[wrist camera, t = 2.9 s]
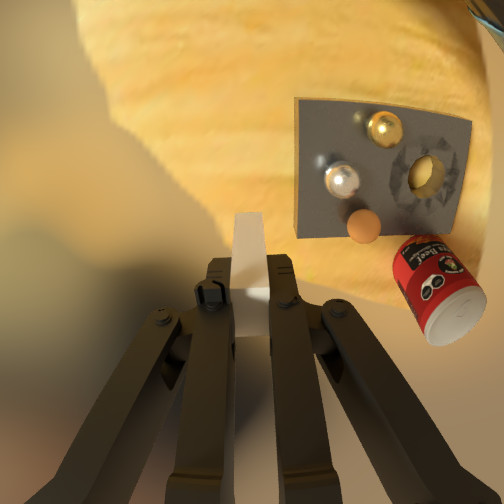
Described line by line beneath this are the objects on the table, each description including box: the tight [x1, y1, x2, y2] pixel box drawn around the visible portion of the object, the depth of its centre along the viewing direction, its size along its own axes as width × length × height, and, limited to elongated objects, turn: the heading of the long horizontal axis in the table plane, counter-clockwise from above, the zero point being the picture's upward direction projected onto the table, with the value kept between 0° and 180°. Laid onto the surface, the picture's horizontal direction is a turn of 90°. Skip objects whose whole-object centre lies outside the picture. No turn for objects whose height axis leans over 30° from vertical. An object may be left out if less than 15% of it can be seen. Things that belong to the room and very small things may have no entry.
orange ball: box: [347, 209, 381, 244], centre depth 26 cm, size 3×3×3 cm
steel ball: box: [324, 161, 362, 199], centre depth 24 cm, size 3×3×3 cm
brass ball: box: [366, 111, 404, 149], centre depth 21 cm, size 3×3×3 cm
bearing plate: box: [294, 97, 472, 239], centre depth 26 cm, size 13×18×2 cm
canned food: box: [393, 234, 487, 346], centre depth 29 cm, size 8×8×11 cm
